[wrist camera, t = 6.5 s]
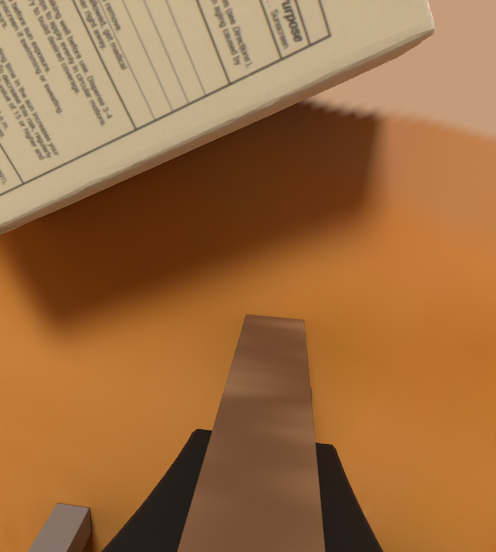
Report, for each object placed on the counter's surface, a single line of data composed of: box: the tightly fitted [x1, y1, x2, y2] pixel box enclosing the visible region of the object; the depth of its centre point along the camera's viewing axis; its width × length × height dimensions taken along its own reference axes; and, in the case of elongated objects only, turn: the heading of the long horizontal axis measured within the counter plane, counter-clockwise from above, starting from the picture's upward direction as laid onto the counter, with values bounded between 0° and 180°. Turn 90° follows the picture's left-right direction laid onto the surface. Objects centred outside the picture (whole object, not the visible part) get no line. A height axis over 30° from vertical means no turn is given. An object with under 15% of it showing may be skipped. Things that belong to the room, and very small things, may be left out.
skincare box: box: [0, 0, 435, 235], centre depth 10 cm, size 6×4×12 cm
